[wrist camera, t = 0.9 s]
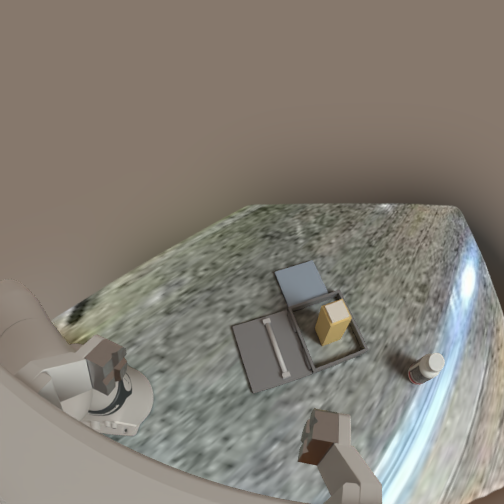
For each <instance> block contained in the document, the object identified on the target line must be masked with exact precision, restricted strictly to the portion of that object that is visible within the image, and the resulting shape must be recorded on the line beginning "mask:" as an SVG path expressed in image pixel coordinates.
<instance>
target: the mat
mask: <svg viewBox="0 0 504 504" xmlns="http://www.w3.org/2000/svg"><path fill="white" fill-rule="evenodd" d="M275 275H276V278H277V280H278V283H279V285H280V288H281V290H282V293H283V295H284V297H285V300H286V302H287V305H288V307H290V306H293V305H296V304H299V303H302V302H305V301H308V300H311V299H314V298H317V297H320V296H323V295H326V294H329V293H328V291H327V289H326V287H325V285H324V283H323V281H322V279H321V277H320V275H319V273H318V271H317V269H316V267H315V265H314V262H313V260H312V261H309V262H305V263H302V264H299V265H296V266H292V267H289V268H286V269H282V270H279V271H276V272H275Z"/></svg>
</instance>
